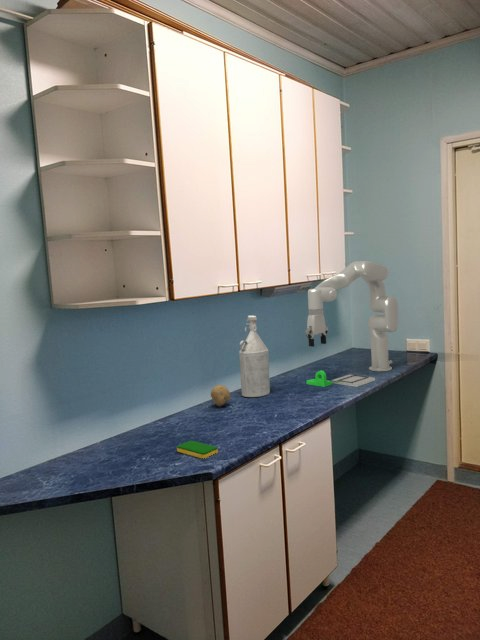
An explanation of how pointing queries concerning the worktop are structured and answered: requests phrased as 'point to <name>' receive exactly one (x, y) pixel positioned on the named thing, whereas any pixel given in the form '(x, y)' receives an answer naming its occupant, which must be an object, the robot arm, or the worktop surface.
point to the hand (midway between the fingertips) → (317, 345)
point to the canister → (254, 363)
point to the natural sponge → (220, 395)
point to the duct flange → (353, 380)
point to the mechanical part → (319, 380)
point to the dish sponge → (197, 449)
